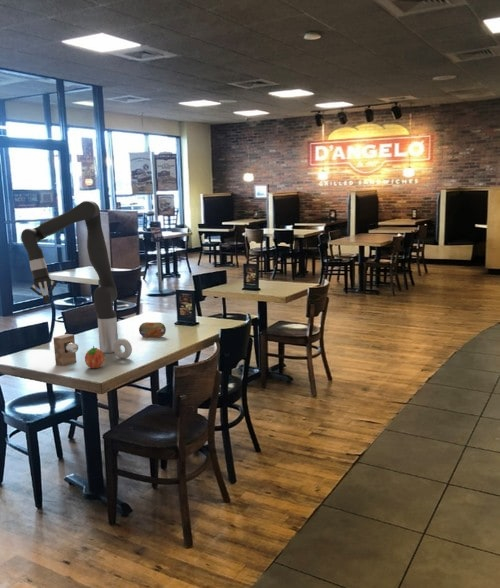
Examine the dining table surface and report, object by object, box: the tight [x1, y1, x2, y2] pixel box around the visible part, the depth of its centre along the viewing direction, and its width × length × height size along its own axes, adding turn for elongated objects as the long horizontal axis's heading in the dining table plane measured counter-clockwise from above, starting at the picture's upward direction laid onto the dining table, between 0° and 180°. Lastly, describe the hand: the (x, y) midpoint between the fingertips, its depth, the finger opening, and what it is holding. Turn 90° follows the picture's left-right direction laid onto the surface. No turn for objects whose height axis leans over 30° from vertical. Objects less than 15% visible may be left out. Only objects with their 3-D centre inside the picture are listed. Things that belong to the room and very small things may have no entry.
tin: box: [138, 321, 167, 339], centre depth 321 cm, size 15×3×8 cm, turn 76°
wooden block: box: [52, 333, 77, 367], centre depth 273 cm, size 5×8×13 cm, turn 150°
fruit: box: [84, 345, 105, 369], centre depth 264 cm, size 9×10×10 cm
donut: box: [113, 337, 133, 360], centre depth 278 cm, size 10×3×10 cm, turn 66°
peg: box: [64, 343, 79, 353], centre depth 272 cm, size 9×4×4 cm, turn 60°
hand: (47, 302), depth 289 cm, fingers closed
